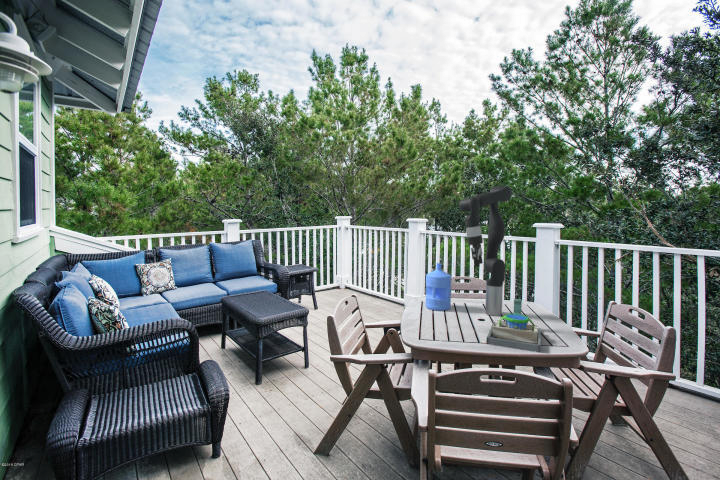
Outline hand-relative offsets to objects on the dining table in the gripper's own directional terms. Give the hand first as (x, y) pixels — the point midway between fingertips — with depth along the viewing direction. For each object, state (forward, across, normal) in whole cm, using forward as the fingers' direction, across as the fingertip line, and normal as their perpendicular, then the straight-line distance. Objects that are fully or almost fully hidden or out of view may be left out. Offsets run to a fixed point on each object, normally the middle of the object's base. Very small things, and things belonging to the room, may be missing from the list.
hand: (479, 265), depth 194 cm
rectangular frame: (+34, -16, -15) cm, 40 cm away
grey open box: (+34, -9, -14) cm, 38 cm away
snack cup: (+34, -14, -15) cm, 40 cm away
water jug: (+29, +20, +34) cm, 48 cm away
